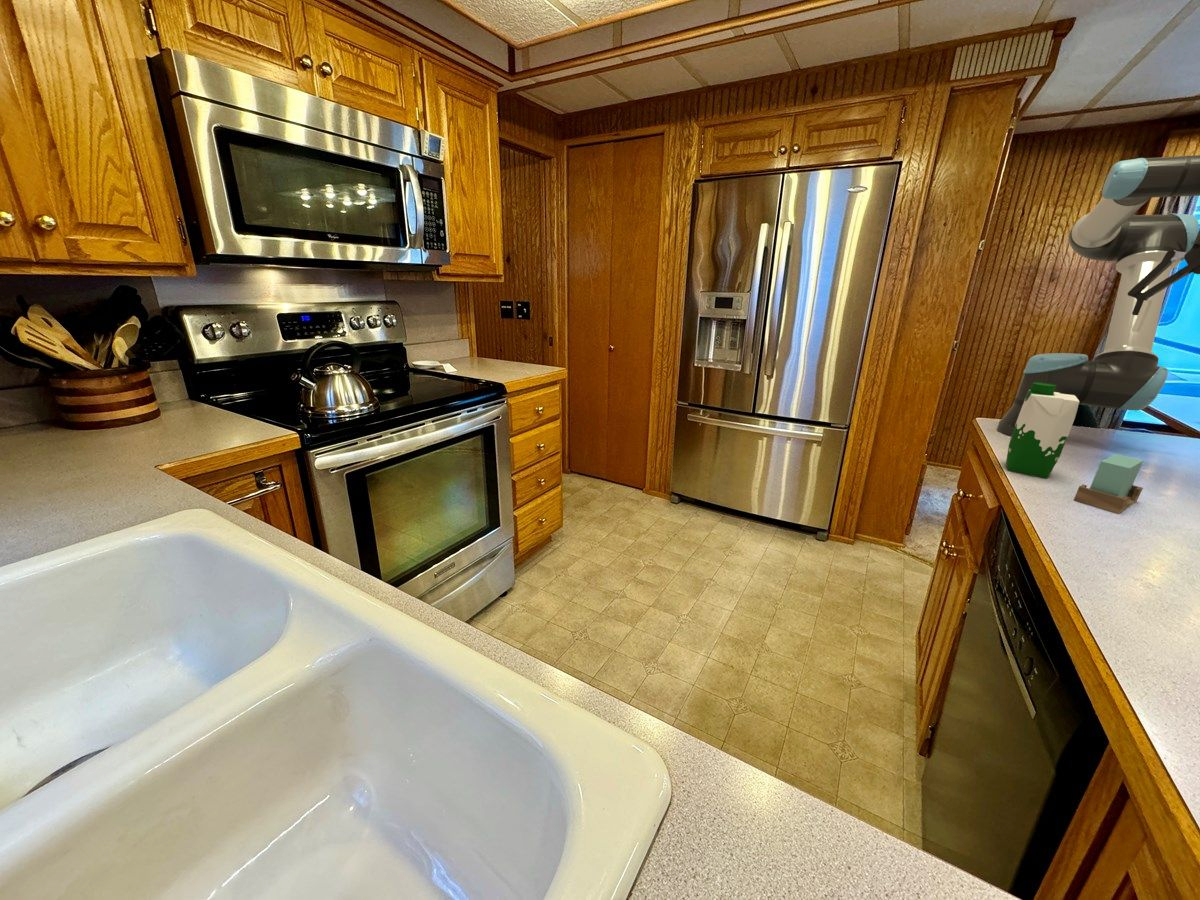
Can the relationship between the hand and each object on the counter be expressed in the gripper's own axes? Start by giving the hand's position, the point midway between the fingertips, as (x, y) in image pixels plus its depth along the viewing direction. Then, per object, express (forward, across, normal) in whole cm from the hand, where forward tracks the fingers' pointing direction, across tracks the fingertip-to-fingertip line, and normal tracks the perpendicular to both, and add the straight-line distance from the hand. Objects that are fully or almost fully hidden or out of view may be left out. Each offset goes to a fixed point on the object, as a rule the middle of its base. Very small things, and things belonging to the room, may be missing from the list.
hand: (1181, 335), depth 100 cm
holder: (+31, +4, -24) cm, 39 cm away
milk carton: (+31, -11, -18) cm, 38 cm away
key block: (+30, +4, -24) cm, 39 cm away
